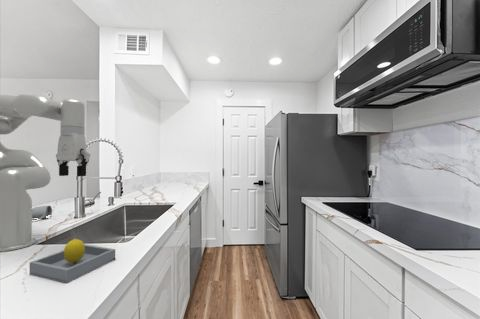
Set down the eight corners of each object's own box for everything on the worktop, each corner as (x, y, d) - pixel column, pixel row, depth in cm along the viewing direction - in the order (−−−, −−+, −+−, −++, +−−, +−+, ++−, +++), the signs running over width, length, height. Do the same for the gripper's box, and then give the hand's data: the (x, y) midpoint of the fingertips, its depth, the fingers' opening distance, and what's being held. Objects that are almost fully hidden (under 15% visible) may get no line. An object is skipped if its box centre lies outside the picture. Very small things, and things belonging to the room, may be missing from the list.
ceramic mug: (36, 217, 136) (36, 205, 136) (52, 216, 138) (52, 204, 138) (25, 222, 126) (25, 209, 126) (43, 221, 128) (43, 208, 128)
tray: (29, 274, 68) (29, 262, 68) (81, 253, 83) (81, 243, 83) (66, 283, 62) (66, 270, 62) (115, 259, 78) (115, 249, 78)
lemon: (88, 259, 76) (88, 235, 76) (77, 267, 70) (77, 241, 70) (71, 259, 75) (71, 235, 76) (59, 267, 70) (59, 241, 70)
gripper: (47, 131, 87) (46, 176, 87) (79, 129, 81) (78, 177, 81) (67, 134, 94) (67, 175, 94) (98, 132, 88) (97, 175, 88)
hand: (72, 175), depth 87 cm, fingers open, 9 cm apart
